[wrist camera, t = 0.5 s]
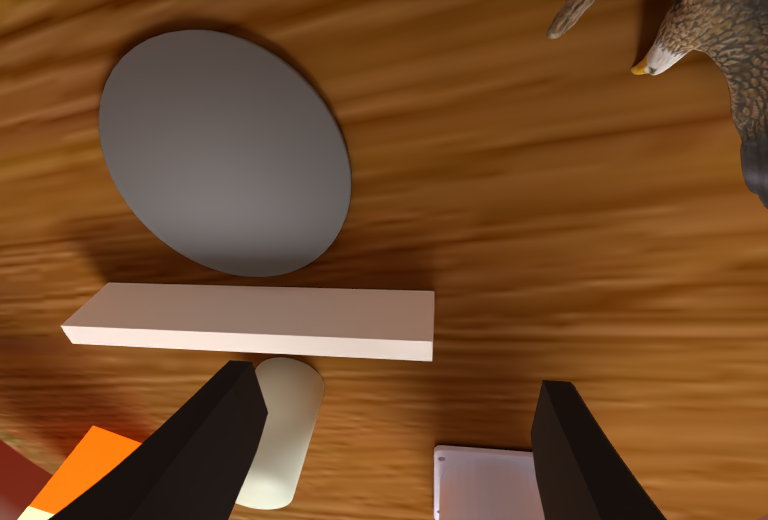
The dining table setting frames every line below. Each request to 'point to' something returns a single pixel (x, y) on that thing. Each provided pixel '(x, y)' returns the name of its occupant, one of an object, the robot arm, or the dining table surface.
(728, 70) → the eagle figurine
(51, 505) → the orange juice
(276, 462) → the sage cylinder
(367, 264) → the dining table surface
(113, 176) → the rubber mat
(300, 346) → the divider wall
